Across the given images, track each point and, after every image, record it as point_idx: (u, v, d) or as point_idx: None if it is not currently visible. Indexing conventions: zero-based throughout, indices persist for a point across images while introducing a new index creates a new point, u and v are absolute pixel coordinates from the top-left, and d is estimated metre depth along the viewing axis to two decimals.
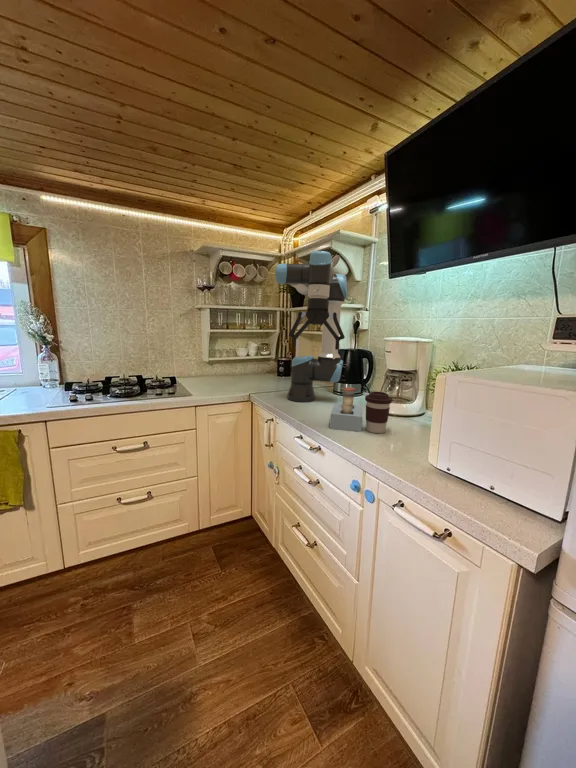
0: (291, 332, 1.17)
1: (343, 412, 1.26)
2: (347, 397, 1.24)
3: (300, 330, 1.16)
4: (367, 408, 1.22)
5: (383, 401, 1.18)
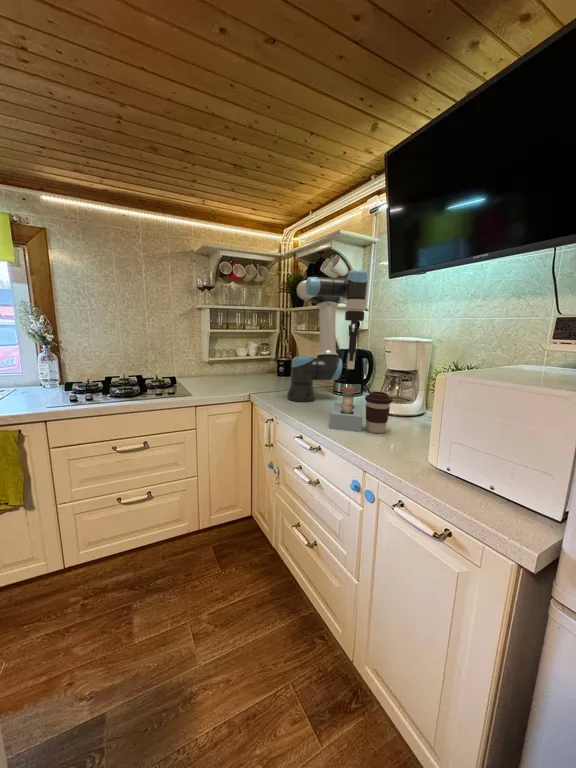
0: None
1: (343, 412, 1.26)
2: (347, 397, 1.24)
3: None
4: (367, 408, 1.22)
5: (383, 401, 1.18)
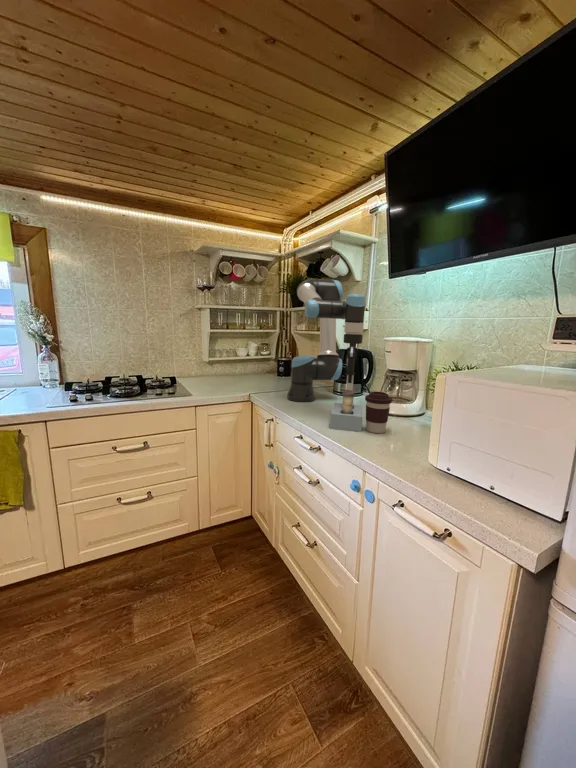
0: None
1: (343, 412, 1.26)
2: (347, 397, 1.24)
3: None
4: (367, 408, 1.22)
5: (383, 401, 1.18)
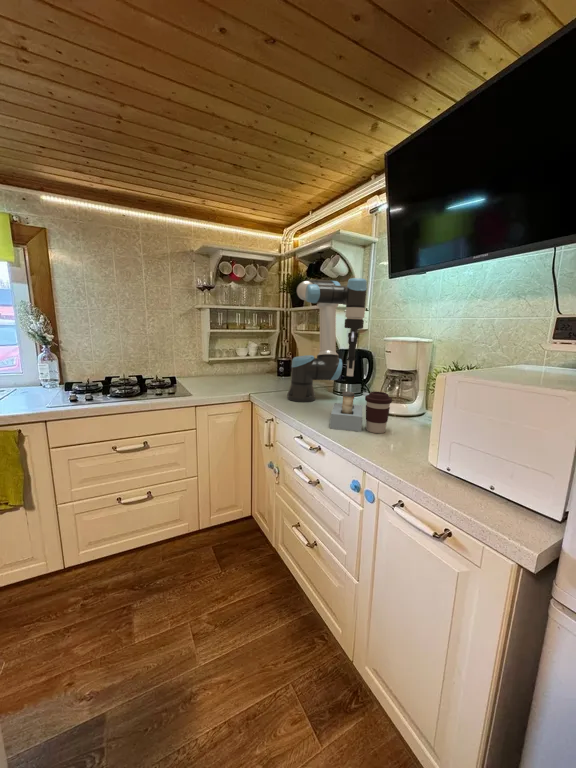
0: None
1: (343, 412, 1.26)
2: (347, 397, 1.24)
3: None
4: (367, 408, 1.22)
5: (383, 401, 1.18)
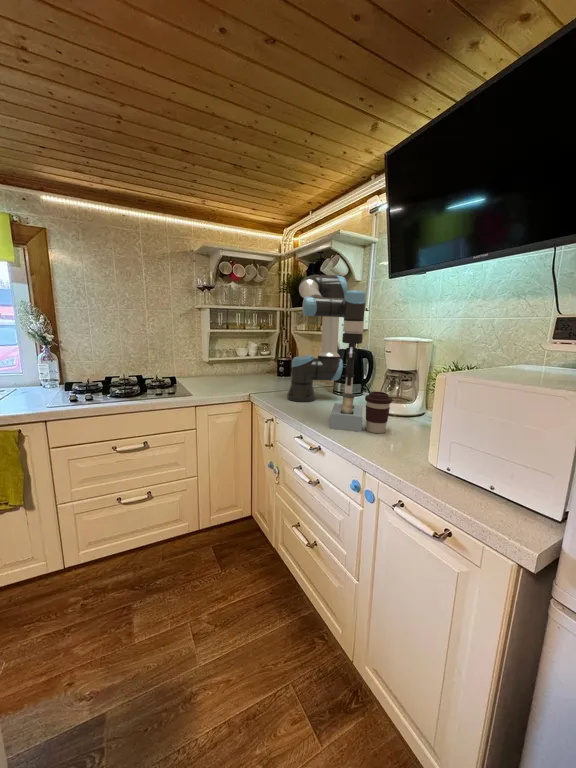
0: None
1: (343, 413, 1.26)
2: (347, 398, 1.24)
3: None
4: (367, 408, 1.22)
5: (383, 401, 1.18)
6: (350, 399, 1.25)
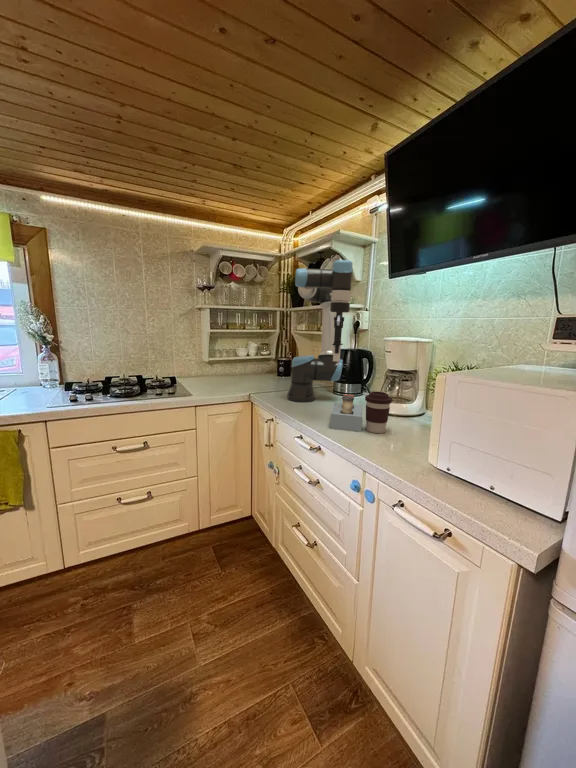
0: None
1: None
2: (347, 401, 1.25)
3: None
4: (367, 408, 1.22)
5: (383, 401, 1.18)
6: (350, 402, 1.25)
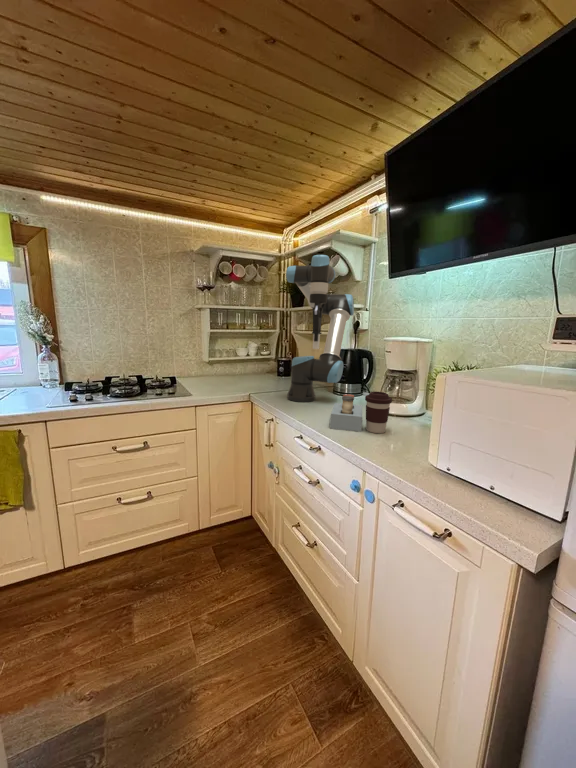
0: None
1: None
2: (347, 401, 1.25)
3: None
4: (367, 408, 1.22)
5: (383, 401, 1.18)
6: (350, 402, 1.25)
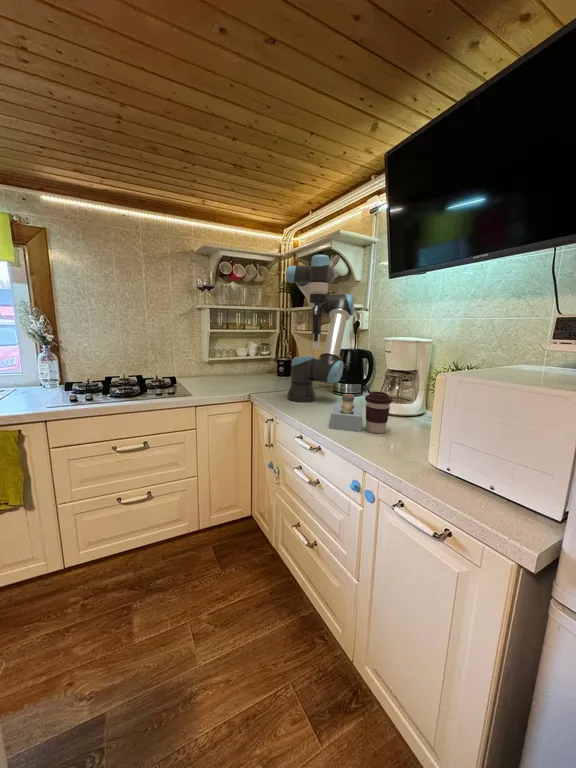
0: None
1: None
2: (347, 401, 1.25)
3: None
4: (367, 408, 1.22)
5: (383, 401, 1.18)
6: (350, 402, 1.25)
